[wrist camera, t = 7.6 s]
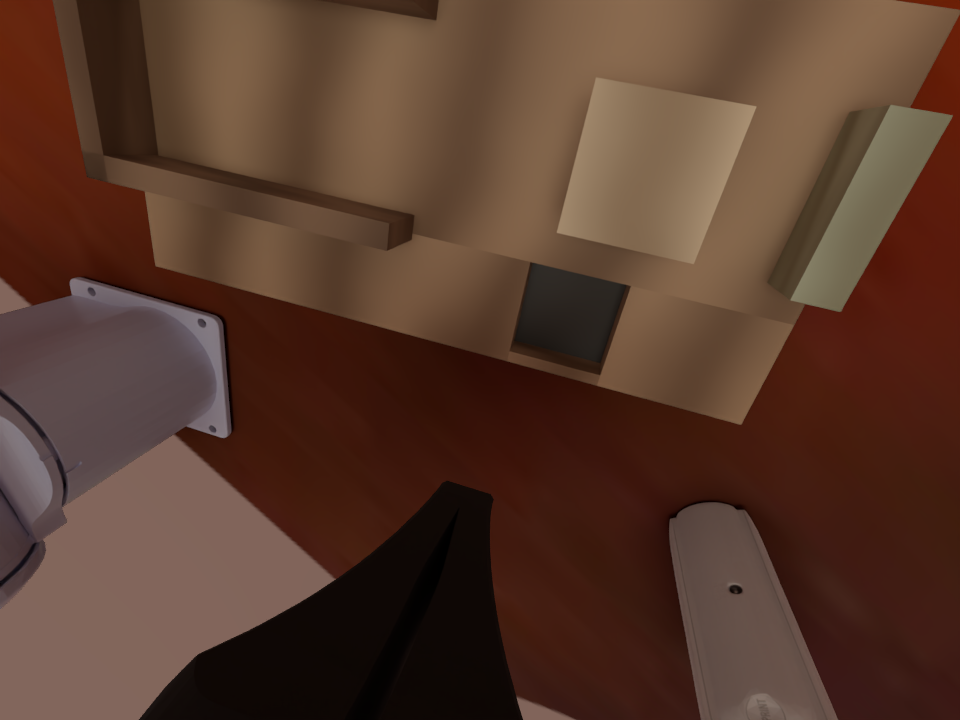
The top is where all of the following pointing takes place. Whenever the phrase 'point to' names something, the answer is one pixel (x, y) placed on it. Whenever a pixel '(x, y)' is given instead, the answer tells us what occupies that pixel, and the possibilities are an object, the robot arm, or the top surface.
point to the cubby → (136, 164)
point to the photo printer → (740, 622)
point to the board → (546, 169)
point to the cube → (651, 168)
